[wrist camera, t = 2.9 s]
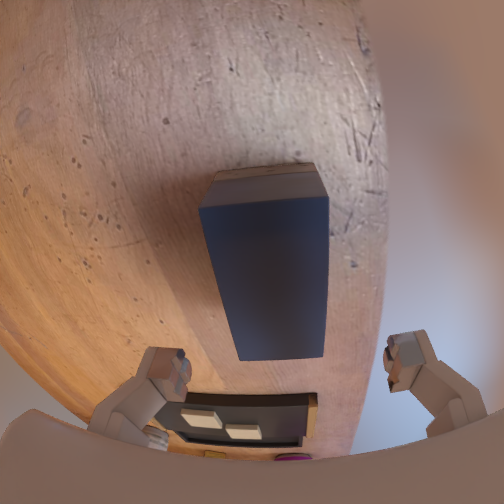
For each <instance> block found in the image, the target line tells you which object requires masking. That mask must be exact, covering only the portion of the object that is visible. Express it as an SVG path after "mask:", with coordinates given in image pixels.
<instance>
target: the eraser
mask: <svg viewBox="0 0 504 504" xmlns="http://www.w3.org/2000/svg"><path fill="white" fill-rule="evenodd" d="M198 212H199V216H200V220H201V224H202V228H203V232H204V236H205V240H206V244H207V248H208V252H209V255H210V259H211V263H212V267H213V270H214V274H215V278H216V281H217V285H218V289H219V292H220V296H221V299H222V303H223V306H224V310H225V313H226V317H227V320H228V324H229V327H230V330H231V334H232V337H233V340H234V344H235V347H236V350H237V354H238V357H239V360H240V361H265V360H289V359H305V358H319V357H323V353H324V342H325V329H326V315H327V298H328V275H329V196H328V194H327V191H326V189H325V187H324V184H323V182H322V180H321V178H320V175H319V173H318V171H317V169H316V167H315V164H314V163H301V164H288V165H276V166H265V167H255V168H246V169H237V170H229V171H221V172H218V173H217V175H216V177H215V178H214V180H213V182H212V184H211V185H210V187H209V189H208V191H207V193H206V194H205V196H204V198H203V200H202V202H201V203H200V205H199V207H198Z"/></svg>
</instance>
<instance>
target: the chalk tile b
mask: <svg viewBox="0 0 504 504" xmlns="http://www.w3.org/2000/svg"><path fill="white" fill-rule="evenodd" d="M225 429H226V431H227V432H228V434H229V435H230V437H231V438H234V439H262V434H261V431H260V428H259V426H258V425H243V424H226V427H225Z"/></svg>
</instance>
